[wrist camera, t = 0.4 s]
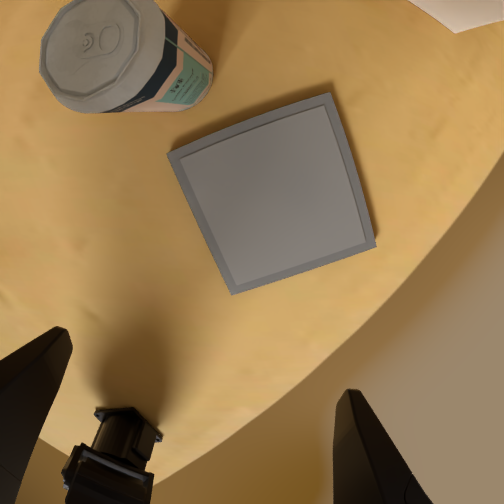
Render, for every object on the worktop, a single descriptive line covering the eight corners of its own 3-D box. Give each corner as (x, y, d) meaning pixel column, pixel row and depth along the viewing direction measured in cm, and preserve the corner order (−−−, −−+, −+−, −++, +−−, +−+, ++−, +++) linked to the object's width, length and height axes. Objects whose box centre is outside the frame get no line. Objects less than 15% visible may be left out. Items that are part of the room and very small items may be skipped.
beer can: (145, 47, 17) (36, -1, 6) (215, 41, 17) (161, -36, 6) (143, 114, 19) (28, 124, 8) (213, 110, 19) (153, 106, 8)
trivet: (232, 290, 24) (231, 296, 24) (169, 152, 20) (165, 153, 20) (373, 242, 22) (377, 247, 22) (327, 92, 18) (330, 91, 18)
